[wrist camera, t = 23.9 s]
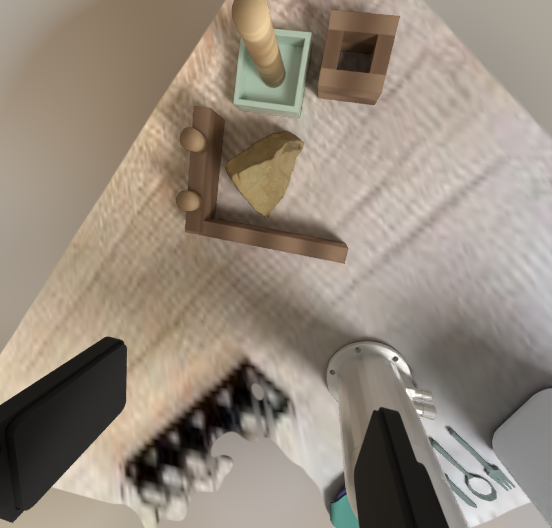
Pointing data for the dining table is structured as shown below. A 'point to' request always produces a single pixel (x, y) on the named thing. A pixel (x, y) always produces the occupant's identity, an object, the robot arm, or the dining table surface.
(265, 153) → the rock
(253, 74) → the tray
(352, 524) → the cutlery set
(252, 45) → the dowel
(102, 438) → the dining table surface
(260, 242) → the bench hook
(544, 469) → the plastic bottle
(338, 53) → the holder
